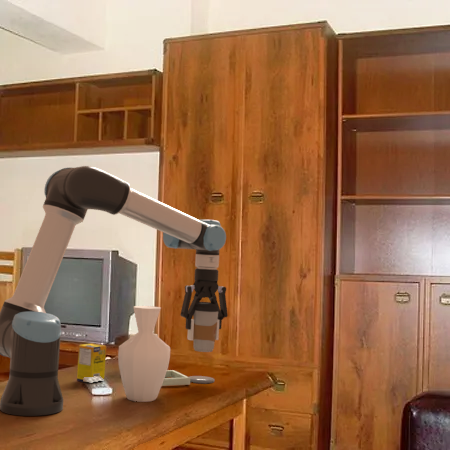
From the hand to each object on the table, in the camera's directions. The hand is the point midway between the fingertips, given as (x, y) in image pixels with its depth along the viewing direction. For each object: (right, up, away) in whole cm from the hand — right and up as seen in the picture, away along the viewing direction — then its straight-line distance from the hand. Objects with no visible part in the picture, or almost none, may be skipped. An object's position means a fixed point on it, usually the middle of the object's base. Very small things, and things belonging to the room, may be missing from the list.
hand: (202, 339), depth 221 cm
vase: (-16, -11, -30) cm, 36 cm away
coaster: (-1, -13, 0) cm, 13 cm away
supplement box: (-34, -11, -11) cm, 37 cm away
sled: (-15, -12, -1) cm, 19 cm away
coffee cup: (0, -4, -1) cm, 4 cm away
